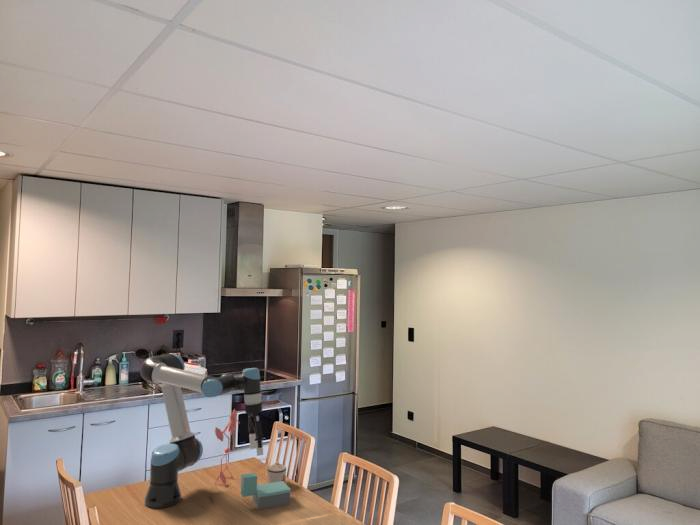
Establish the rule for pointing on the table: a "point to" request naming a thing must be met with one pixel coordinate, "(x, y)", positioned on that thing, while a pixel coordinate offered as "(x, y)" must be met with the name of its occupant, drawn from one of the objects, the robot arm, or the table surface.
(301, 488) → the table surface
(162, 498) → the robot arm
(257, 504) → the tub
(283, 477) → the teacup with lid
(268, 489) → the lid
